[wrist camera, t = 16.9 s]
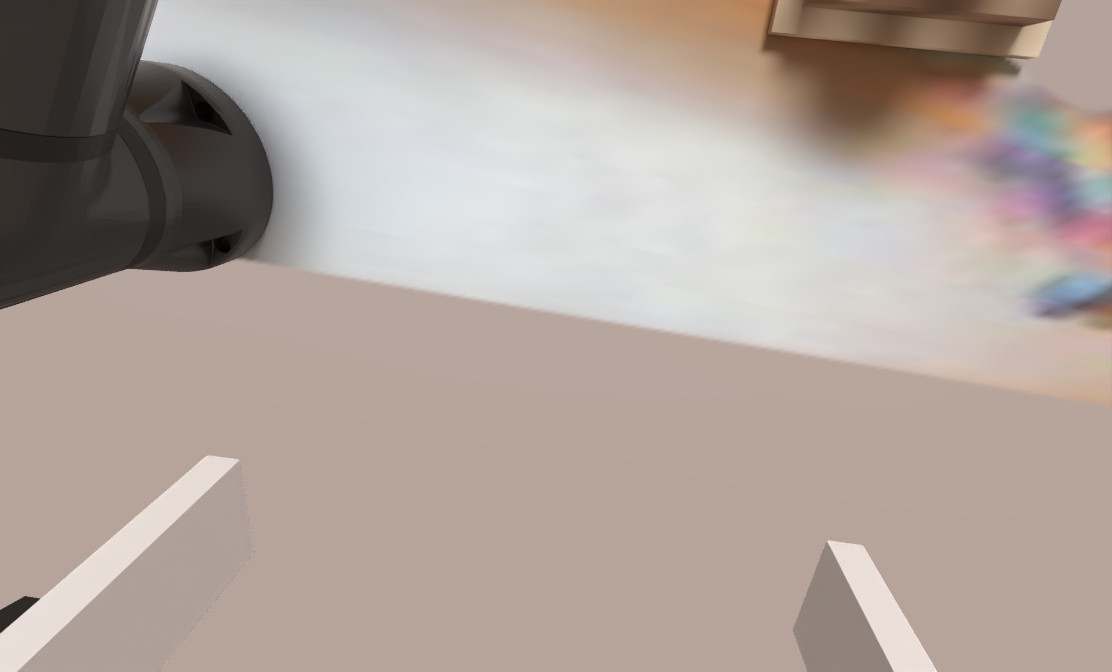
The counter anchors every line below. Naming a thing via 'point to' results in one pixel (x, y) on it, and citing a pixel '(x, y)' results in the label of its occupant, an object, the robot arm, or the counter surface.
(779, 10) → the cup holder
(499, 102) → the counter surface
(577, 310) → the counter surface
